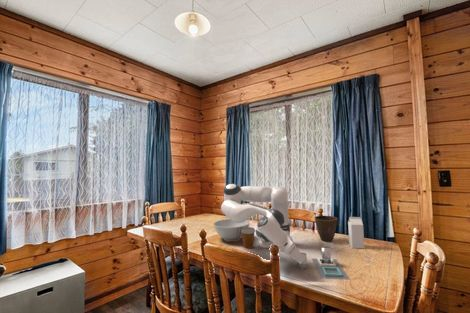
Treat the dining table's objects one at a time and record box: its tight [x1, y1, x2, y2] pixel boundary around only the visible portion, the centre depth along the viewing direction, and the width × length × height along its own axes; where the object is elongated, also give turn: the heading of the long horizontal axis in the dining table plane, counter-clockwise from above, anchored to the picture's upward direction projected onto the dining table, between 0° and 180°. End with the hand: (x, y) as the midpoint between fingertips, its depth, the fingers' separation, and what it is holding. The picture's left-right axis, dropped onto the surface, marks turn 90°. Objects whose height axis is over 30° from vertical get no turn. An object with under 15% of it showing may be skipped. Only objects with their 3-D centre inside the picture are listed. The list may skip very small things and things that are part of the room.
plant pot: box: [314, 215, 338, 243], centre depth 164 cm, size 15×15×16 cm
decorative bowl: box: [213, 218, 250, 242], centre depth 173 cm, size 27×27×12 cm
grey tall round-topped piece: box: [320, 246, 332, 264], centre depth 122 cm, size 4×4×8 cm
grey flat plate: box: [311, 258, 351, 283], centre depth 117 cm, size 13×23×2 cm, turn 171°
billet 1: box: [297, 251, 308, 270], centre depth 119 cm, size 4×4×8 cm
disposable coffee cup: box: [241, 226, 256, 249], centre depth 155 cm, size 10×10×12 cm
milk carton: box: [347, 216, 365, 249], centre depth 151 cm, size 7×7×19 cm
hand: (303, 260), depth 119 cm, fingers closed on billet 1, 4 cm apart
